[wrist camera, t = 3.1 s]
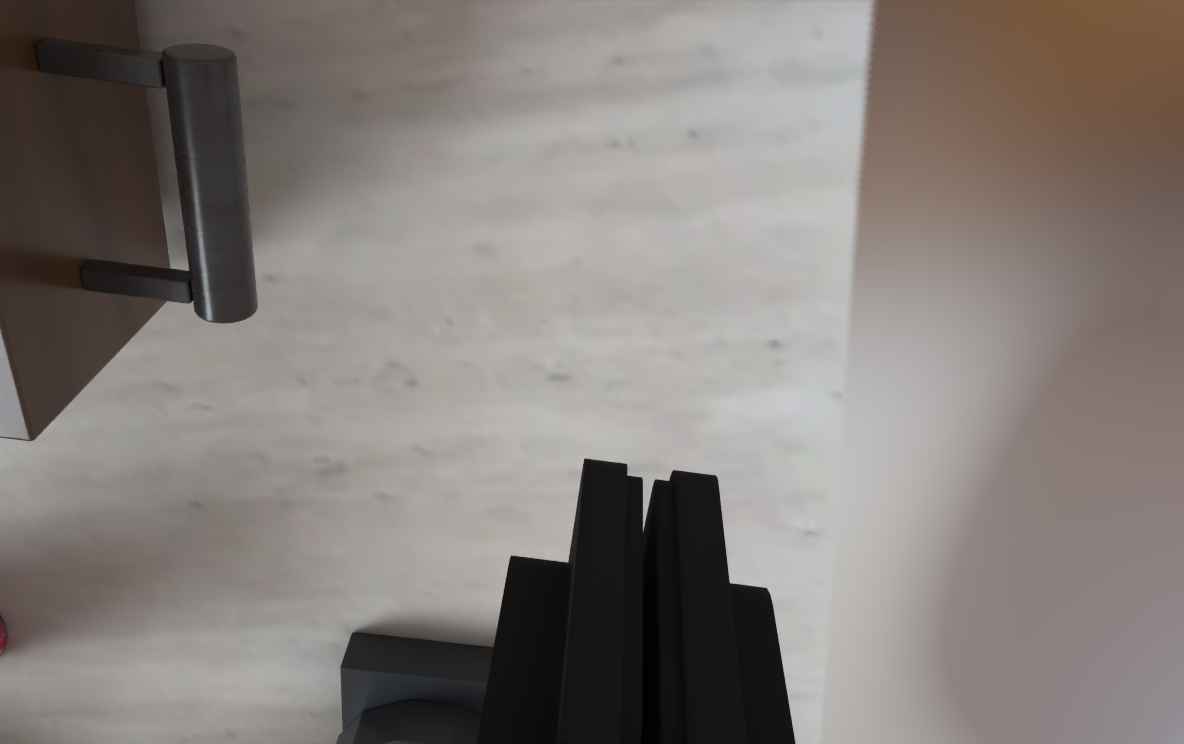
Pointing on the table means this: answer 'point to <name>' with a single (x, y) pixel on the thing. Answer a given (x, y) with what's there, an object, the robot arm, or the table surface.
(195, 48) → the drawer
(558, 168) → the table surface
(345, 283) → the table surface
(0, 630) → the cup
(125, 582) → the table surface
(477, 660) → the button block
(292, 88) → the table surface
